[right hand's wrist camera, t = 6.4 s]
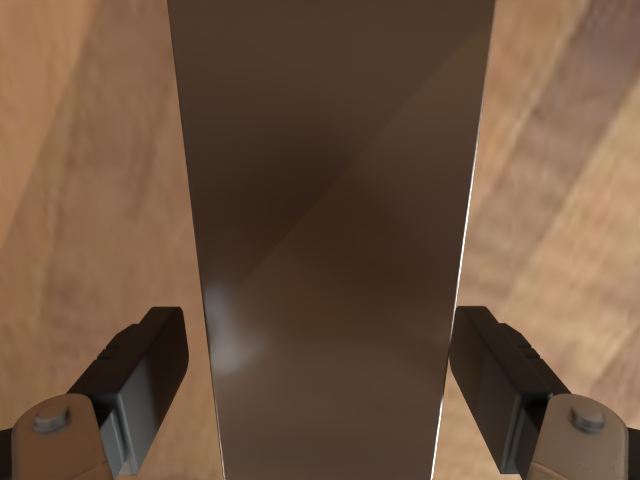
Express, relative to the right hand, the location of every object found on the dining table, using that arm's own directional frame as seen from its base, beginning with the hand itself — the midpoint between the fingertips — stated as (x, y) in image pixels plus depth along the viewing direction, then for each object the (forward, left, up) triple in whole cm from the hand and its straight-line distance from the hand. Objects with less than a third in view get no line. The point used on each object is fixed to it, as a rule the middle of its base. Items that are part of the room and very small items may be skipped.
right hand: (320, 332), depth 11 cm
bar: (+9, 0, -6) cm, 11 cm away
